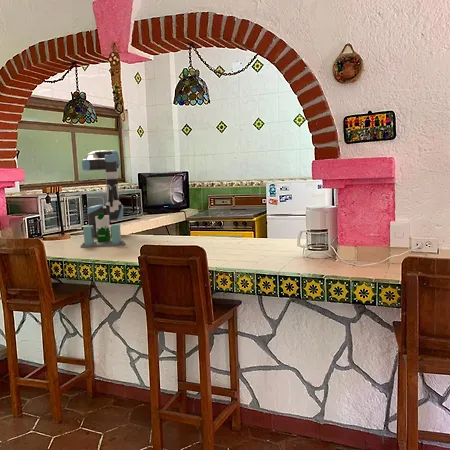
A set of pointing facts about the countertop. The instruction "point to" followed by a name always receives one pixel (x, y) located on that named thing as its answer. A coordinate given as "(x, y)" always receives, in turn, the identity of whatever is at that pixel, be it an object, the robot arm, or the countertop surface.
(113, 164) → the robot arm
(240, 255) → the countertop surface
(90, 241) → the teal rectangular block
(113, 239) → the finger free
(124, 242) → the rail
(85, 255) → the countertop surface
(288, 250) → the countertop surface
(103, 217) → the milk carton
